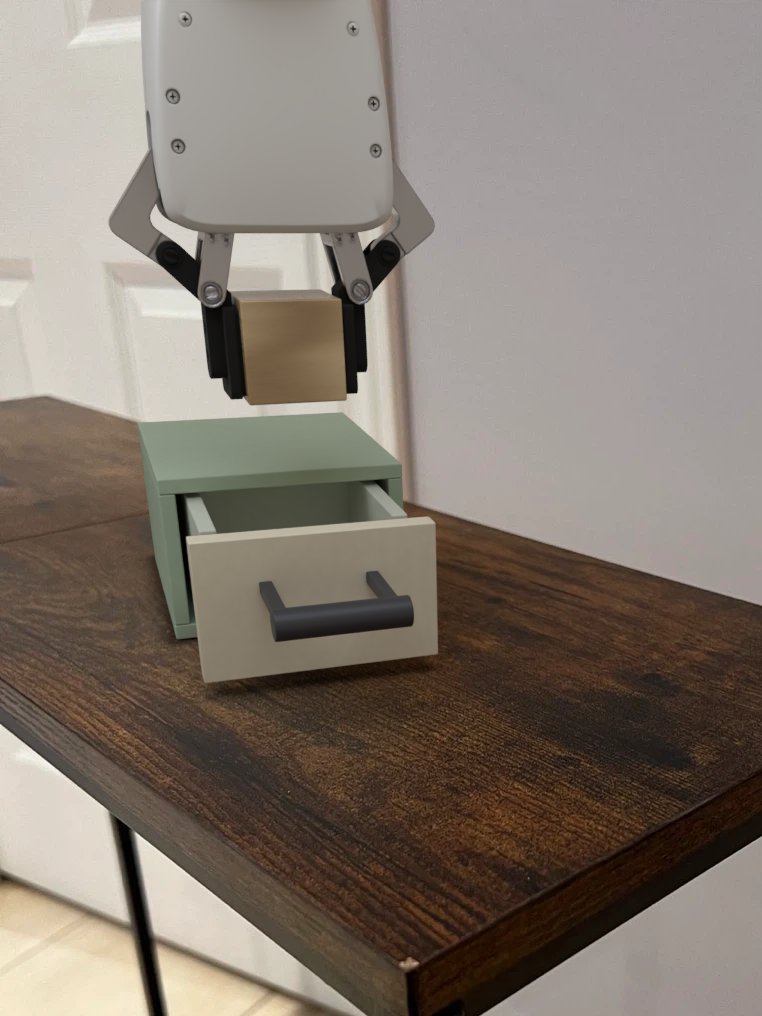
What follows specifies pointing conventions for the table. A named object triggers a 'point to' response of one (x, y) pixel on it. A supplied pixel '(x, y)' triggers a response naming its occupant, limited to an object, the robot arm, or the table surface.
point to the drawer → (307, 578)
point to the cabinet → (246, 475)
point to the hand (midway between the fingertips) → (289, 387)
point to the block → (291, 346)
